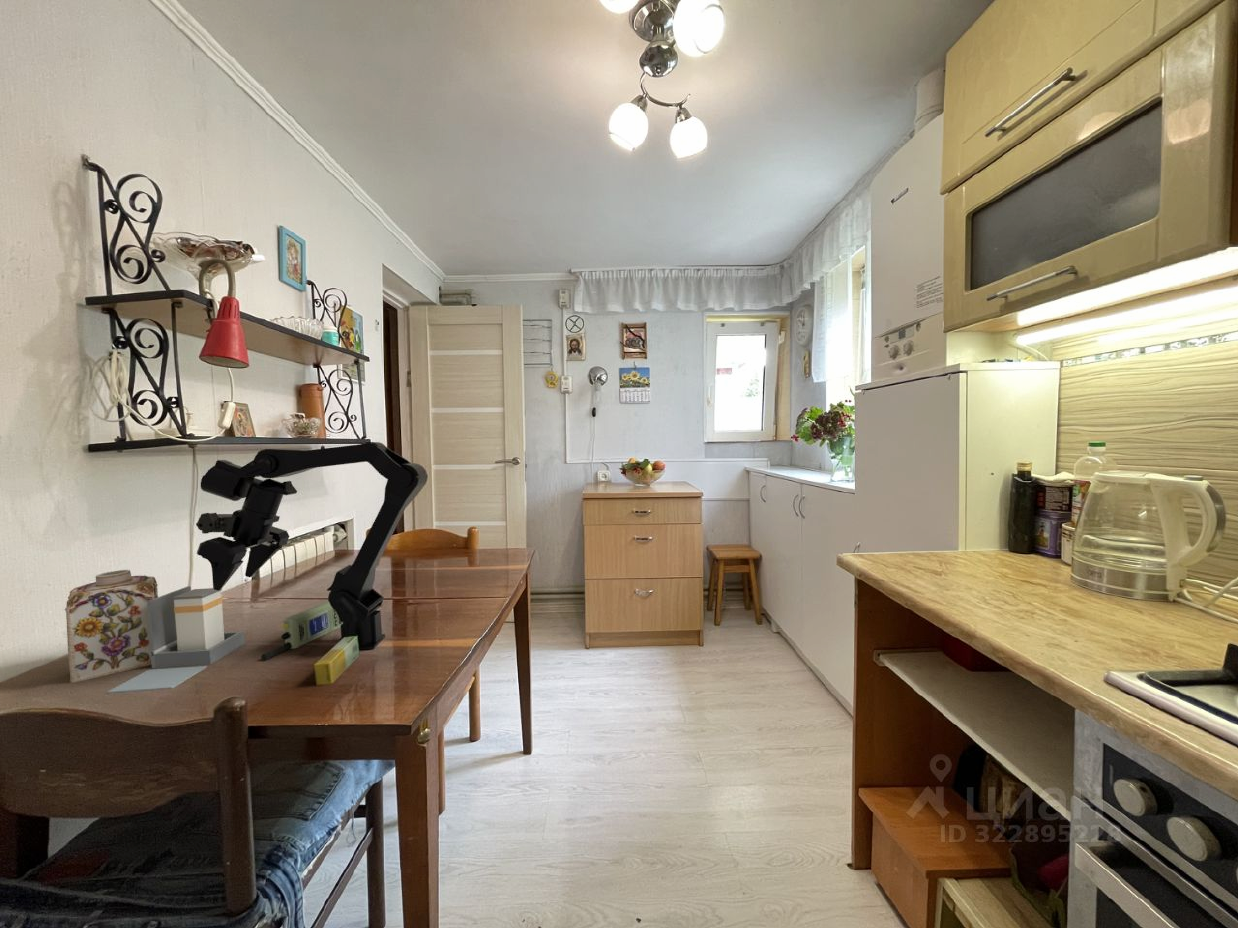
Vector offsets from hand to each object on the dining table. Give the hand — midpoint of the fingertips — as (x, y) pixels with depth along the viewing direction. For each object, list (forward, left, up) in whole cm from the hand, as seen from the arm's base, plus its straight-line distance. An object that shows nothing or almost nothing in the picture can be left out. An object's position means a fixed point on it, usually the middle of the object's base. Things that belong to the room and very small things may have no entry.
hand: (233, 582), depth 97 cm
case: (+6, +1, -14) cm, 16 cm away
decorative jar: (+20, +2, -14) cm, 25 cm away
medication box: (-24, +11, -15) cm, 30 cm away
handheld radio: (-12, -6, -15) cm, 20 cm away
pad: (+6, +11, -14) cm, 19 cm away
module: (+6, +1, -14) cm, 15 cm away
